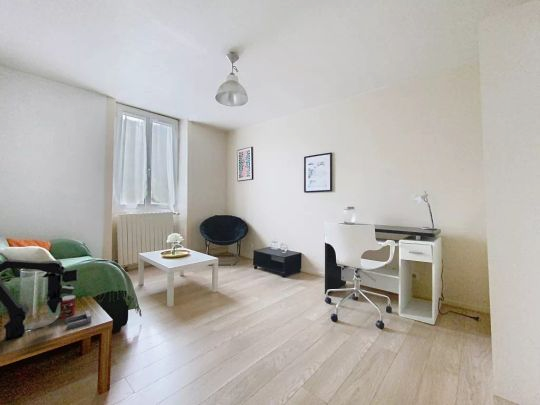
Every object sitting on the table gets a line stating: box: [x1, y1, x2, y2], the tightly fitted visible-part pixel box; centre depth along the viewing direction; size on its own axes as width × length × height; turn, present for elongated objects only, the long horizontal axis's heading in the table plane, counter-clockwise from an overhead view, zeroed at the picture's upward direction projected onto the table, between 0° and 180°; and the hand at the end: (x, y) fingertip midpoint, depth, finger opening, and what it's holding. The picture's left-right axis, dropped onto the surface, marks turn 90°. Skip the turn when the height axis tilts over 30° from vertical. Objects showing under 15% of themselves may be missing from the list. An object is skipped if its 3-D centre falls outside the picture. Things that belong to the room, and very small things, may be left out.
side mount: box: [65, 309, 92, 330], centre depth 140 cm, size 11×10×4 cm
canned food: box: [58, 294, 76, 319], centre depth 149 cm, size 8×8×11 cm
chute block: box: [47, 303, 60, 318], centre depth 134 cm, size 5×5×7 cm
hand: (53, 311), depth 134 cm, fingers closed on chute block, 5 cm apart
